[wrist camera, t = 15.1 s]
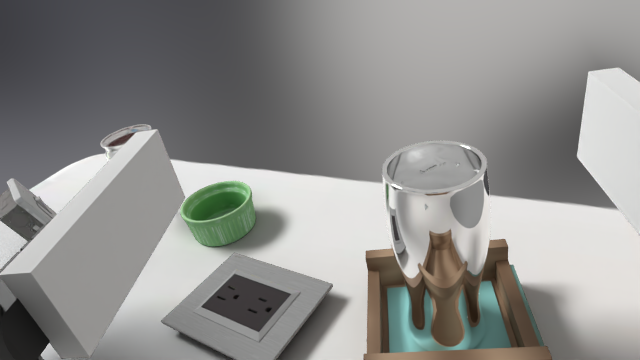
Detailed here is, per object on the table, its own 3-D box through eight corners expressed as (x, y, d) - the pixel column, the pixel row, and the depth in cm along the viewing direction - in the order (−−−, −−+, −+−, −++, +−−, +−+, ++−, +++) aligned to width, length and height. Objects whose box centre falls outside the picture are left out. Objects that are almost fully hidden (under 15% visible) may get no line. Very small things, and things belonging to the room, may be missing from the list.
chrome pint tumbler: (395, 355, 35) (368, 194, 27) (408, 289, 40) (388, 140, 33) (492, 368, 32) (490, 194, 25) (491, 296, 38) (490, 136, 30)
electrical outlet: (336, 299, 44) (331, 281, 43) (269, 388, 37) (262, 369, 36) (239, 266, 51) (233, 250, 50) (168, 335, 44) (159, 318, 43)
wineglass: (132, 210, 66) (96, 138, 61) (175, 191, 69) (145, 120, 63) (141, 230, 61) (103, 153, 55) (188, 208, 64) (157, 132, 58)
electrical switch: (76, 243, 62) (35, 190, 57) (38, 266, 60) (-8, 213, 55) (62, 219, 69) (24, 170, 64) (28, 239, 66) (-14, 190, 61)
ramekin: (177, 245, 56) (164, 217, 54) (218, 205, 63) (208, 178, 61) (235, 255, 52) (223, 225, 50) (272, 210, 59) (264, 182, 57)
